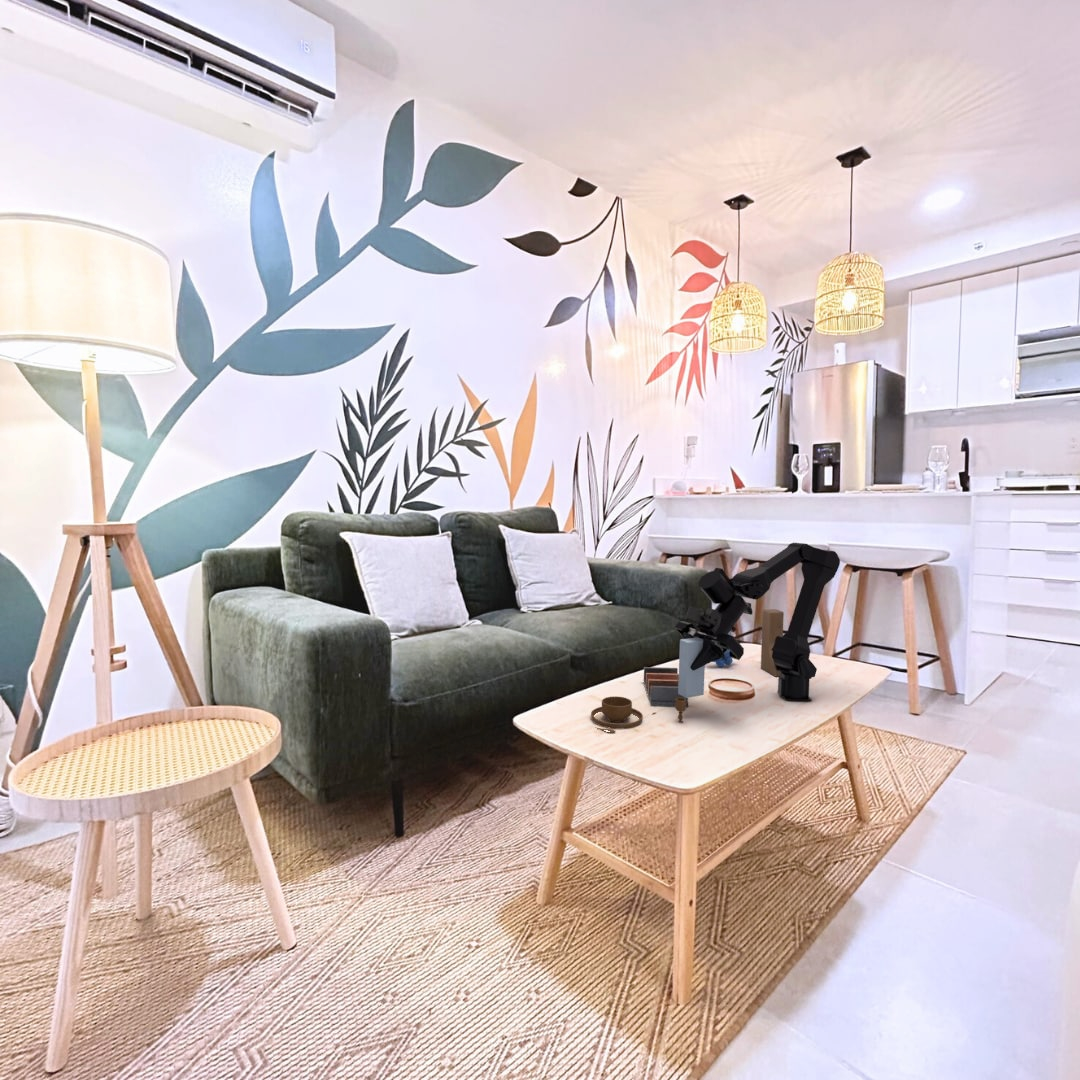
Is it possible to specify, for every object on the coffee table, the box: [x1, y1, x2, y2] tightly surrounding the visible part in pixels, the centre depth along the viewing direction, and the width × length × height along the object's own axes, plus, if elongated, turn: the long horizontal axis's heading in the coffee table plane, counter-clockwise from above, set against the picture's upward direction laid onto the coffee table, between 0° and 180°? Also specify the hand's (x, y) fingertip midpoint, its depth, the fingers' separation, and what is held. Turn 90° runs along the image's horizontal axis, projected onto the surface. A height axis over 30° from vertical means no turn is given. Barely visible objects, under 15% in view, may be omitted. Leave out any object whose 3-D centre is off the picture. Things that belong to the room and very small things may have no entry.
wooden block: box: [760, 608, 784, 678], centre depth 176 cm, size 9×4×18 cm, turn 8°
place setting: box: [590, 695, 687, 734], centre depth 137 cm, size 18×20×6 cm
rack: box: [642, 666, 689, 708], centre depth 158 cm, size 9×19×4 cm, turn 176°
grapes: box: [712, 631, 733, 668], centre depth 182 cm, size 12×7×12 cm, turn 115°
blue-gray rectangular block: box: [678, 637, 706, 699], centre depth 141 cm, size 5×3×13 cm, turn 114°
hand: (687, 667), depth 140 cm, fingers closed on blue-gray rectangular block, 3 cm apart
